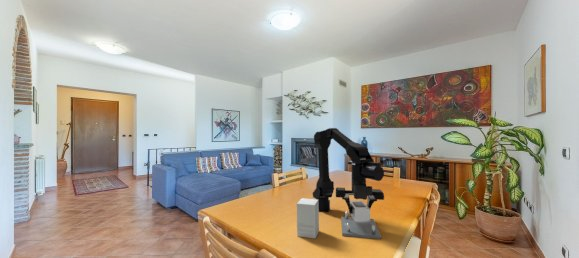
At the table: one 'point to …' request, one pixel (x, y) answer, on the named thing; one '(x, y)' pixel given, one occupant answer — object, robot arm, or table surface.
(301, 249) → the table surface
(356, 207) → the block
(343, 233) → the pin tray
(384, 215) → the table surface
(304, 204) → the supplement box
